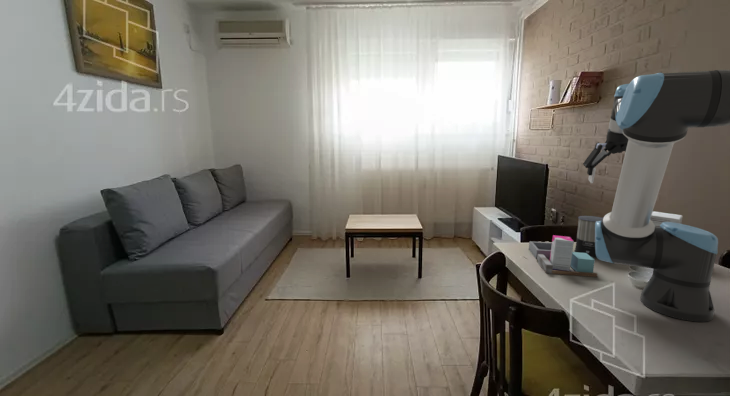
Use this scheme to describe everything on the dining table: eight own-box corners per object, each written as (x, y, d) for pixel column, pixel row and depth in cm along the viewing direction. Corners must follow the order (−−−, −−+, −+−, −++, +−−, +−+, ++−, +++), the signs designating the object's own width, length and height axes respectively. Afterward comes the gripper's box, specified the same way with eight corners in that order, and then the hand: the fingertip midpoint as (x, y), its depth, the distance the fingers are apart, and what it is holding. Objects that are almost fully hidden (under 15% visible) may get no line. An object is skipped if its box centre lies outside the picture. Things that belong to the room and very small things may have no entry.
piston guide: (597, 277, 116) (598, 268, 115) (545, 273, 119) (546, 264, 119) (583, 264, 127) (584, 257, 126) (536, 261, 130) (537, 253, 129)
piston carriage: (592, 273, 118) (594, 259, 117) (576, 272, 119) (578, 258, 118) (584, 266, 125) (586, 252, 124) (569, 264, 126) (570, 251, 125)
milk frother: (577, 256, 135) (581, 220, 132) (566, 244, 150) (570, 211, 147) (619, 260, 131) (625, 222, 128) (604, 247, 146) (609, 213, 143)
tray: (567, 260, 130) (568, 252, 130) (536, 258, 132) (536, 250, 132) (557, 251, 141) (558, 243, 140) (528, 249, 143) (529, 241, 142)
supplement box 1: (570, 272, 120) (574, 241, 117) (551, 270, 121) (554, 239, 119) (566, 266, 125) (570, 236, 123) (548, 264, 127) (551, 234, 125)
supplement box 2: (646, 250, 142) (652, 210, 139) (675, 256, 136) (683, 214, 133) (641, 255, 136) (648, 214, 133) (672, 262, 129) (680, 219, 126)
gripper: (654, 119, 123) (640, 170, 135) (578, 130, 128) (571, 178, 139) (667, 127, 117) (651, 180, 129) (587, 138, 122) (578, 188, 133)
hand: (609, 179), depth 134 cm, fingers open, 13 cm apart
